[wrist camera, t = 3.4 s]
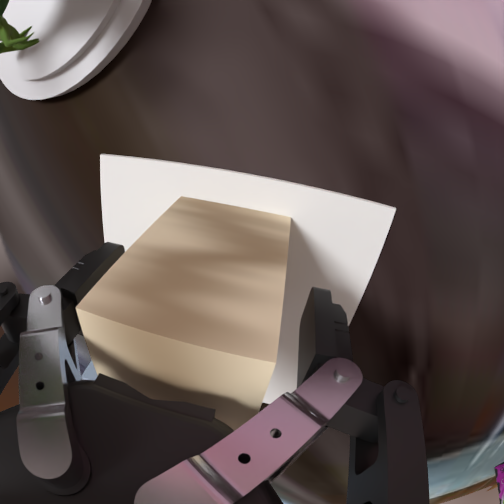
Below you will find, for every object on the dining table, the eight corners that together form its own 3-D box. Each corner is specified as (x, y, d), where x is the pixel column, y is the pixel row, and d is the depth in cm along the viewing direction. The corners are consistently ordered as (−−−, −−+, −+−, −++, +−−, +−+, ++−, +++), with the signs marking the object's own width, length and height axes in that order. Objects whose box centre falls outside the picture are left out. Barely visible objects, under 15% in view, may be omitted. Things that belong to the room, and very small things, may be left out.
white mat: (394, 207, 12) (396, 209, 12) (304, 406, 20) (304, 409, 20) (102, 153, 13) (100, 154, 13) (127, 364, 21) (125, 366, 21)
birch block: (290, 217, 13) (276, 362, 6) (269, 304, 16) (244, 446, 9) (180, 196, 13) (75, 307, 7) (177, 284, 16) (110, 407, 9)
